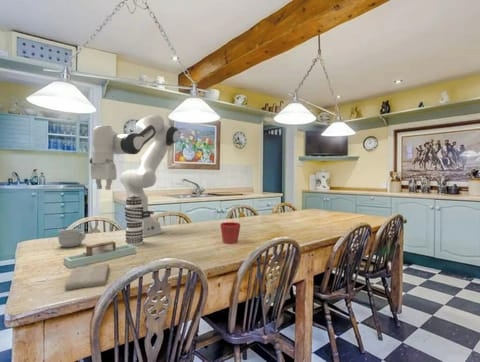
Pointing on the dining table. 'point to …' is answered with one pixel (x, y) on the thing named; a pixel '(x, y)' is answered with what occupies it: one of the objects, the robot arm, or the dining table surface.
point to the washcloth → (87, 276)
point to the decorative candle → (134, 220)
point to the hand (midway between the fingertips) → (103, 189)
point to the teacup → (71, 237)
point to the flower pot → (230, 232)
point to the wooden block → (100, 248)
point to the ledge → (98, 256)
